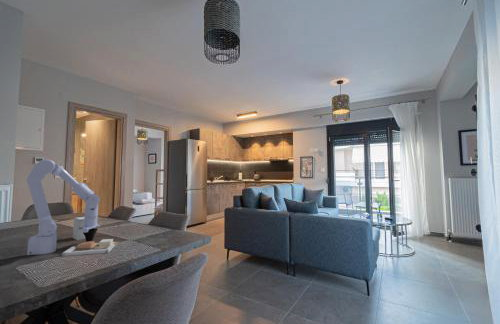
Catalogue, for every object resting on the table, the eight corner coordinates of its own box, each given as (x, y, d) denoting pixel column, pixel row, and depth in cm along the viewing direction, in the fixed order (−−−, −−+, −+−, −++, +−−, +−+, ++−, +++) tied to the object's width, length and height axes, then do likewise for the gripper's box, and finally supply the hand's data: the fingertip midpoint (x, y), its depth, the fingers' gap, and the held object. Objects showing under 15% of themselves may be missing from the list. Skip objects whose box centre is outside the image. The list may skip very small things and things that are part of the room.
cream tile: (98, 246, 115) (99, 242, 115) (102, 243, 119) (102, 239, 120) (110, 245, 116) (110, 241, 116) (112, 242, 121) (113, 238, 121)
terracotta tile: (78, 248, 111) (79, 244, 111) (82, 245, 115) (83, 241, 115) (90, 247, 112) (90, 243, 112) (94, 244, 117) (94, 240, 117)
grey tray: (61, 258, 100) (61, 253, 100) (71, 251, 109) (72, 246, 109) (107, 255, 105) (108, 249, 105) (114, 248, 114) (114, 243, 114)
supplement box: (76, 242, 125) (78, 219, 126) (72, 240, 129) (73, 217, 130) (92, 239, 131) (93, 217, 132) (87, 237, 135) (88, 216, 136)
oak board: (72, 251, 109) (72, 249, 109) (80, 246, 118) (80, 243, 118) (114, 248, 115) (114, 246, 115) (118, 243, 123) (119, 241, 123)
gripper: (94, 219, 112) (93, 247, 111) (104, 214, 126) (102, 239, 125) (78, 219, 110) (76, 248, 109) (89, 214, 124) (88, 240, 123)
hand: (89, 243), depth 117 cm, fingers closed
